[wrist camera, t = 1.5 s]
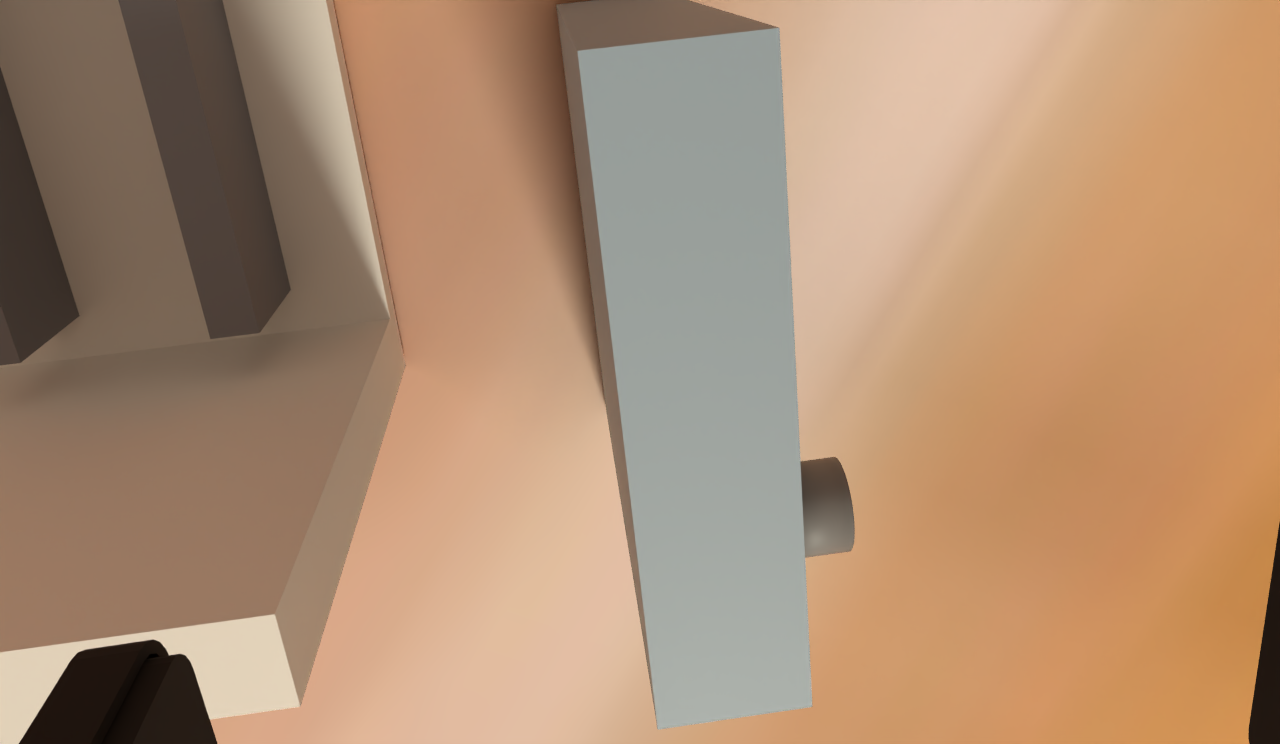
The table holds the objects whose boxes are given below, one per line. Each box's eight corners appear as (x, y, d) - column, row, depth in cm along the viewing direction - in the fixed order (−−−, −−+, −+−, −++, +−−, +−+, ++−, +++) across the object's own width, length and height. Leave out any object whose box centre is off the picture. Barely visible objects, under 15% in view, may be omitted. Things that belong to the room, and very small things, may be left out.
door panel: (715, -13, 24) (878, 16, 12) (744, 394, 27) (888, 695, 16) (556, 4, 23) (577, 50, 12) (606, 412, 27) (657, 729, 16)
